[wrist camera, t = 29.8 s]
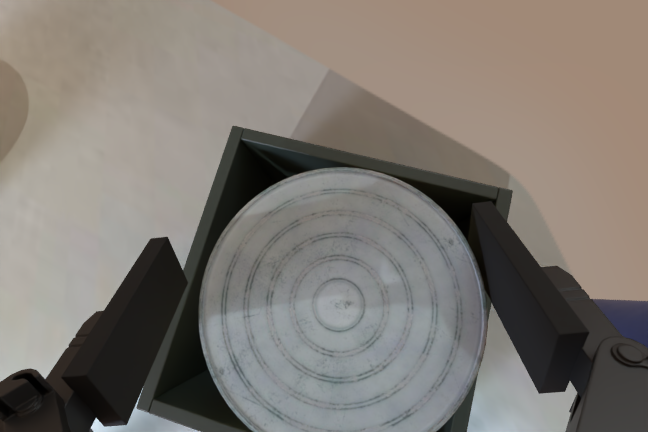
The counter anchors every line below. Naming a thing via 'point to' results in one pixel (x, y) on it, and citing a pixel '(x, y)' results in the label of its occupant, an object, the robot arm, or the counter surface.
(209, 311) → the canned food
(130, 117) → the counter surface
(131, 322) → the robot arm
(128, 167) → the counter surface
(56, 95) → the counter surface
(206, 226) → the open dark gray bin
